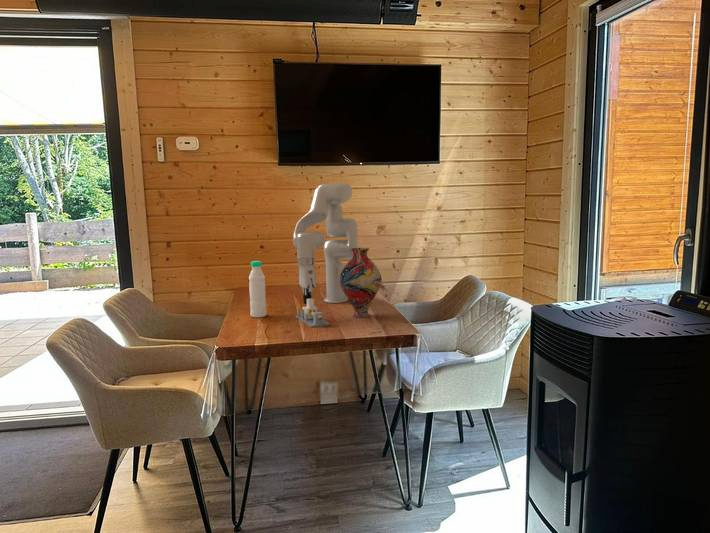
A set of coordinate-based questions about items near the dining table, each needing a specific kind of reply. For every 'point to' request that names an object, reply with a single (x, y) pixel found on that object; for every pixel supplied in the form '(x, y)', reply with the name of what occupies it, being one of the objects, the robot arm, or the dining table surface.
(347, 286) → the vase
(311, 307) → the small white bottle
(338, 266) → the robot arm
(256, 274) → the water bottle
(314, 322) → the gray rack
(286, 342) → the dining table surface
